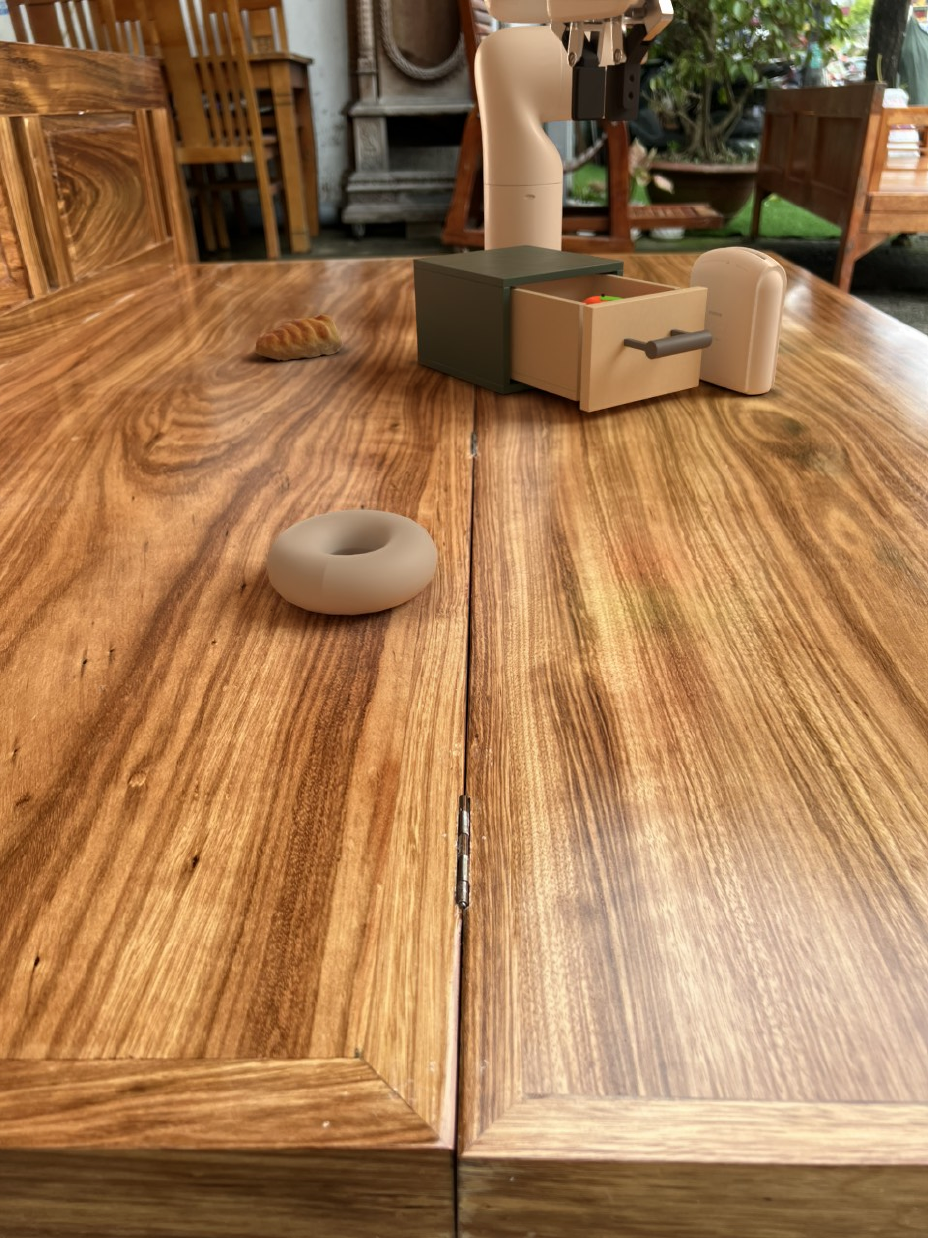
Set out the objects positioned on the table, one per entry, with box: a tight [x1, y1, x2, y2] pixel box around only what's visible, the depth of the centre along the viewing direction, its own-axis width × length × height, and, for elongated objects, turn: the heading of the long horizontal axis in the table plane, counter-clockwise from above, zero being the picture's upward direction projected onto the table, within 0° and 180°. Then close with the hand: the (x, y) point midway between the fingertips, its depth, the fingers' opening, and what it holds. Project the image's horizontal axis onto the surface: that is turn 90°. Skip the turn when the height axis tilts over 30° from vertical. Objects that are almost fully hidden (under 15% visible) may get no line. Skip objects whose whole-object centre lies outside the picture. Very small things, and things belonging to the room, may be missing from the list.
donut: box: [265, 508, 439, 616], centre depth 56 cm, size 10×4×10 cm
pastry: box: [254, 314, 343, 362], centre depth 107 cm, size 9×7×4 cm
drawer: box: [510, 273, 712, 413], centre depth 88 cm, size 19×13×9 cm
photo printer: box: [689, 246, 788, 395], centre depth 90 cm, size 10×4×12 cm, turn 26°
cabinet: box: [412, 245, 625, 395], centre depth 98 cm, size 16×15×11 cm
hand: (604, 117), depth 80 cm, fingers open, 3 cm apart
